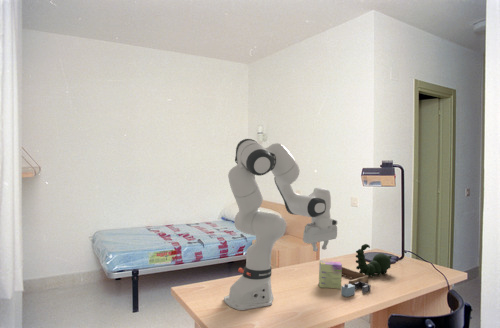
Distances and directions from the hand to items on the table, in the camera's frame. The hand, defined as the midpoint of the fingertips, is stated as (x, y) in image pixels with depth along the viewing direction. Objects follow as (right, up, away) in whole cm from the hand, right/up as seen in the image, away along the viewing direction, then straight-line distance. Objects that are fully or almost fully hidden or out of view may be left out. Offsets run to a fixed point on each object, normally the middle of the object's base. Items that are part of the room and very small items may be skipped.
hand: (319, 250), depth 169 cm
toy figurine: (+35, -20, +24) cm, 46 cm away
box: (+6, -19, +5) cm, 21 cm away
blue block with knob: (+12, -20, -5) cm, 24 cm away
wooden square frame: (+16, -19, +12) cm, 28 cm away
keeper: (+20, -20, +1) cm, 28 cm away
